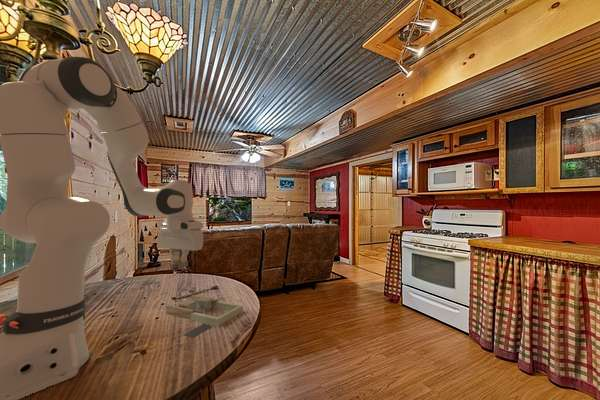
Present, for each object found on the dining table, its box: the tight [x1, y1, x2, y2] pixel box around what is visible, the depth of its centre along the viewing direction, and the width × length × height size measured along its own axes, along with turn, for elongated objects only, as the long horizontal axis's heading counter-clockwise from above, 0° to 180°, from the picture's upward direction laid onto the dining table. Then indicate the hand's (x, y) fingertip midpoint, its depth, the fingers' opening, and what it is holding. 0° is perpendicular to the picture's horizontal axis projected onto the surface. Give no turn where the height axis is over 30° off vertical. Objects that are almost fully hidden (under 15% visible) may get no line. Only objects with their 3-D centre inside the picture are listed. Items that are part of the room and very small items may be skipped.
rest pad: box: [183, 323, 214, 339], centre depth 76 cm, size 8×4×1 cm, turn 156°
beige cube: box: [196, 295, 213, 312], centre depth 93 cm, size 4×4×4 cm
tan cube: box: [177, 299, 197, 312], centre depth 90 cm, size 4×4×4 cm
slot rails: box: [165, 294, 219, 320], centre depth 92 cm, size 12×12×3 cm
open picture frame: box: [190, 300, 244, 327], centre depth 87 cm, size 13×11×2 cm
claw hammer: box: [171, 285, 219, 302], centre depth 110 cm, size 21×7×1 cm, turn 141°
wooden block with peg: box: [169, 249, 189, 271], centre depth 96 cm, size 7×3×6 cm, turn 156°
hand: (178, 260), depth 96 cm, fingers closed on wooden block with peg, 3 cm apart
